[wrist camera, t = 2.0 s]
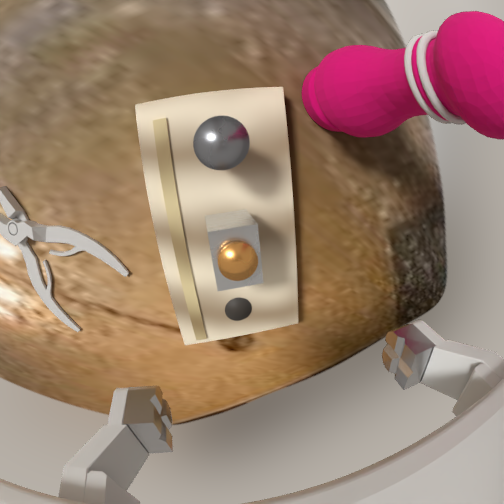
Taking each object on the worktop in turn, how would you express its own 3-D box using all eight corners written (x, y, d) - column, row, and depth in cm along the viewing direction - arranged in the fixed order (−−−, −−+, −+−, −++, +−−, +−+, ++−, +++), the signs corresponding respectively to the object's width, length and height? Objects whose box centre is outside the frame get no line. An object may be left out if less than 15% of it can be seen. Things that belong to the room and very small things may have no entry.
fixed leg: (191, 125, 19) (190, 119, 14) (234, 120, 19) (246, 112, 15) (196, 168, 20) (196, 174, 16) (239, 161, 20) (252, 166, 16)
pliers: (74, 338, 23) (-26, 239, 17) (78, 329, 25) (-18, 234, 19) (128, 275, 22) (13, 158, 16) (131, 268, 24) (22, 156, 18)
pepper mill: (279, 104, 21) (523, 44, 2) (321, 45, 19) (520, -38, 1) (345, 153, 23) (571, 211, 5) (379, 94, 22) (582, 94, 3)
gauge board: (138, 107, 19) (134, 104, 17) (277, 90, 20) (283, 86, 19) (184, 335, 27) (185, 346, 25) (293, 314, 28) (299, 324, 27)
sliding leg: (204, 213, 21) (208, 235, 16) (243, 206, 21) (260, 226, 16) (212, 262, 22) (218, 296, 18) (249, 255, 23) (265, 287, 18)
